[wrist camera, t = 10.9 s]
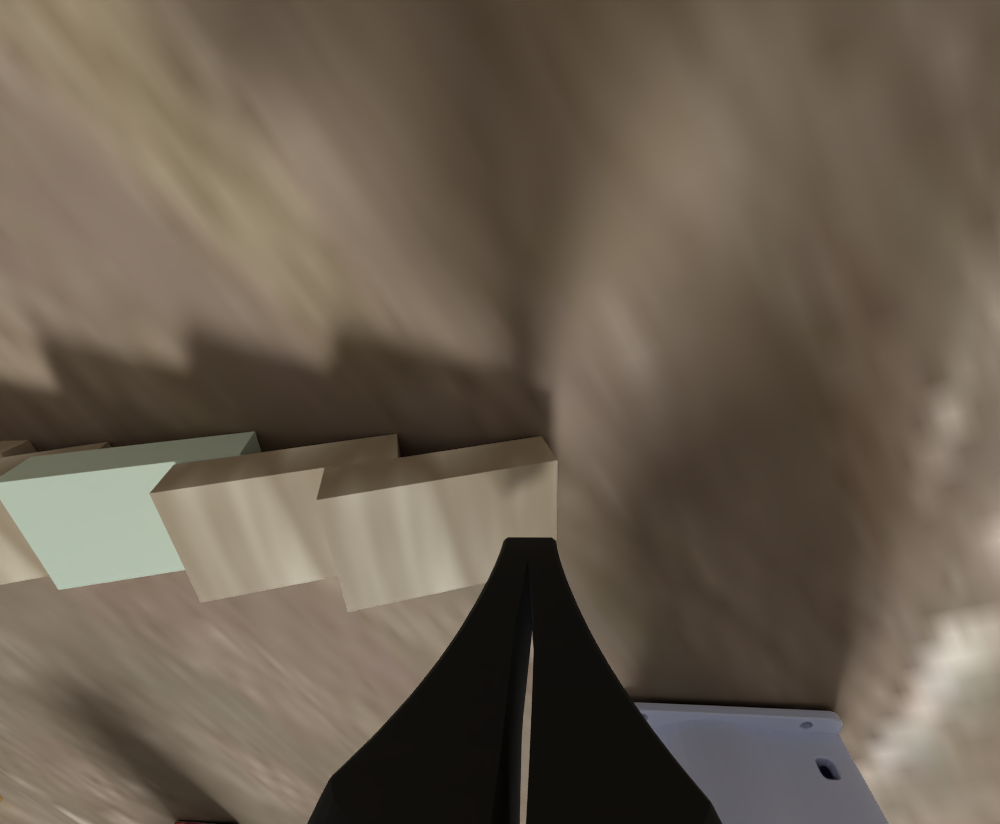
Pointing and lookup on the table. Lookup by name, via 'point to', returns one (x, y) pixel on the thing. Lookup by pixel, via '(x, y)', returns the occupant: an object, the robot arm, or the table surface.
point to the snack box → (184, 823)
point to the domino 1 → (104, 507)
